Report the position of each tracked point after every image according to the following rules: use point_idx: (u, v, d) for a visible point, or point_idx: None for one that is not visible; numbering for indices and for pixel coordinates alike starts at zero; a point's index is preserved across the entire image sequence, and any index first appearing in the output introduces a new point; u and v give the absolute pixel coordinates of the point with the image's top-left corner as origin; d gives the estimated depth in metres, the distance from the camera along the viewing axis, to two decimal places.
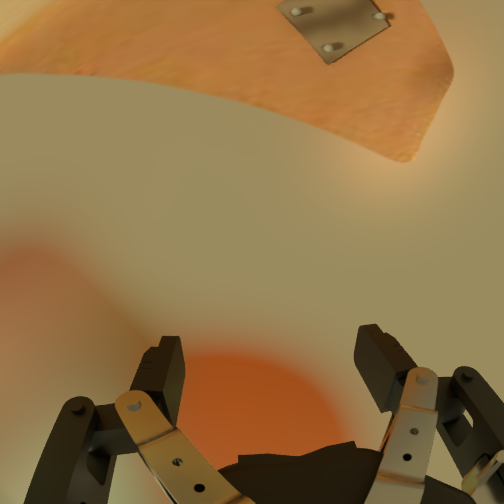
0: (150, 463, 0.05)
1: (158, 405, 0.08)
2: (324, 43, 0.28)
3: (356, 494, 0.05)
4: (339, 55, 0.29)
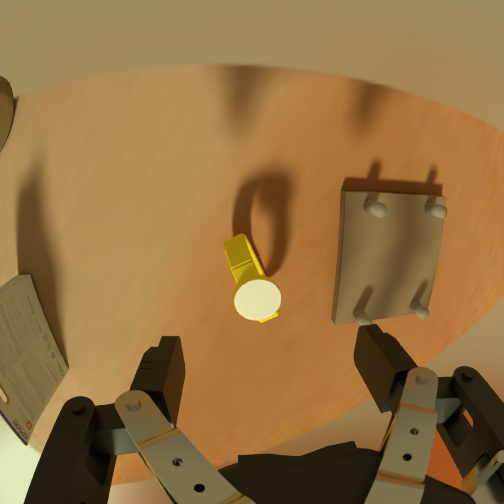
0: (150, 463, 0.05)
1: (158, 405, 0.08)
2: (410, 301, 0.24)
3: (356, 494, 0.05)
4: (430, 293, 0.24)
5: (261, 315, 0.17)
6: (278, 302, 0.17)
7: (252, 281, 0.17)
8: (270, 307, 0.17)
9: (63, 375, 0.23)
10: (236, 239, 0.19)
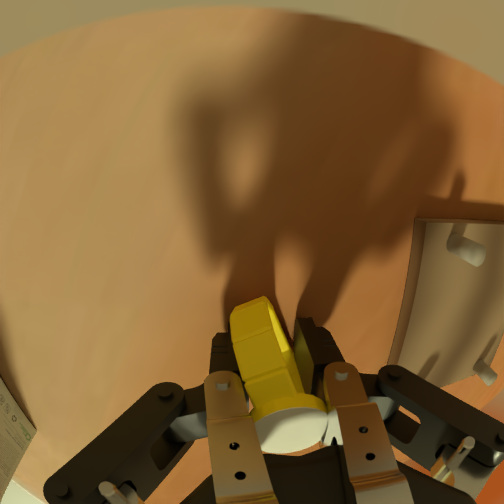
0: (209, 439, 0.06)
1: (242, 384, 0.09)
2: (474, 362, 0.15)
3: None
4: (496, 348, 0.15)
5: (292, 448, 0.08)
6: (325, 431, 0.08)
7: (284, 410, 0.08)
8: (310, 438, 0.08)
9: (30, 439, 0.15)
10: (253, 315, 0.10)
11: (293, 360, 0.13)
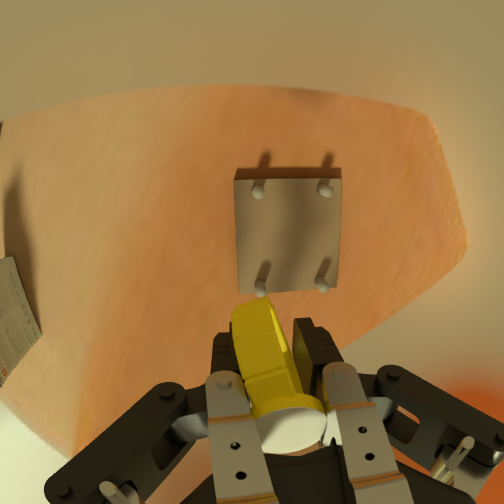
0: (210, 439, 0.06)
1: None
2: (313, 276, 0.29)
3: None
4: (336, 269, 0.29)
5: (289, 448, 0.08)
6: (322, 432, 0.08)
7: (283, 409, 0.08)
8: (307, 439, 0.08)
9: (37, 338, 0.29)
10: (254, 314, 0.10)
11: (291, 361, 0.13)
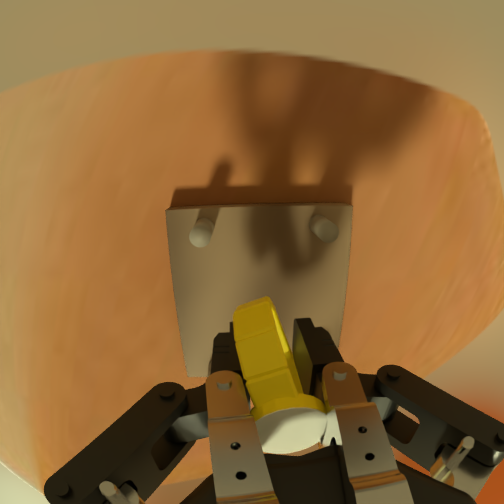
0: (210, 439, 0.06)
1: (244, 384, 0.09)
2: None
3: None
4: None
5: (290, 448, 0.08)
6: (323, 433, 0.08)
7: (284, 410, 0.08)
8: (308, 439, 0.08)
9: None
10: (256, 314, 0.10)
11: (293, 362, 0.13)
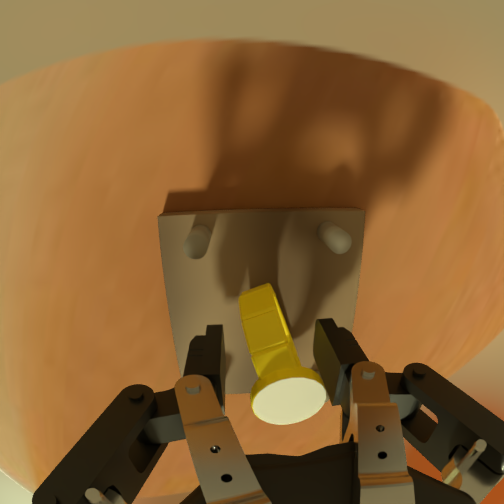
0: (189, 445, 0.06)
1: (215, 388, 0.09)
2: None
3: (356, 494, 0.05)
4: None
5: (291, 419, 0.10)
6: (320, 404, 0.10)
7: (285, 380, 0.09)
8: (307, 410, 0.10)
9: None
10: (259, 297, 0.11)
11: (292, 345, 0.15)
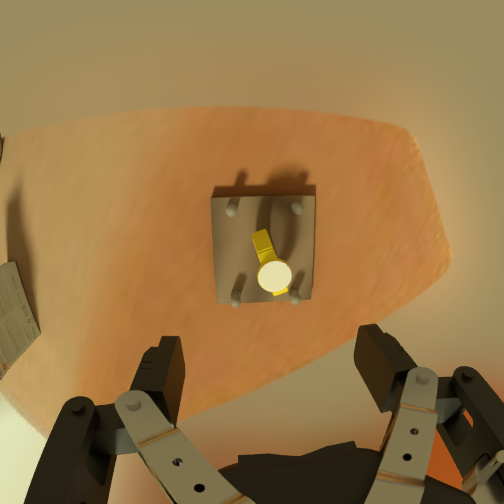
0: (150, 463, 0.05)
1: (158, 405, 0.08)
2: (288, 289, 0.31)
3: (357, 494, 0.05)
4: (309, 282, 0.30)
5: (276, 288, 0.24)
6: (289, 279, 0.24)
7: (272, 262, 0.23)
8: (283, 282, 0.24)
9: (35, 337, 0.31)
10: (261, 232, 0.26)
11: None
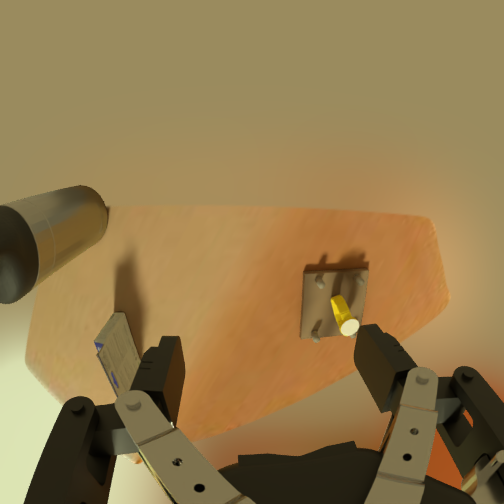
0: (150, 463, 0.05)
1: (158, 405, 0.08)
2: None
3: (356, 494, 0.05)
4: (360, 323, 0.44)
5: (349, 333, 0.38)
6: (357, 328, 0.37)
7: (349, 320, 0.37)
8: (354, 330, 0.37)
9: None
10: (340, 299, 0.39)
11: None
